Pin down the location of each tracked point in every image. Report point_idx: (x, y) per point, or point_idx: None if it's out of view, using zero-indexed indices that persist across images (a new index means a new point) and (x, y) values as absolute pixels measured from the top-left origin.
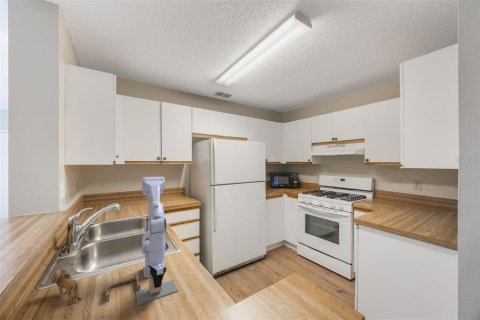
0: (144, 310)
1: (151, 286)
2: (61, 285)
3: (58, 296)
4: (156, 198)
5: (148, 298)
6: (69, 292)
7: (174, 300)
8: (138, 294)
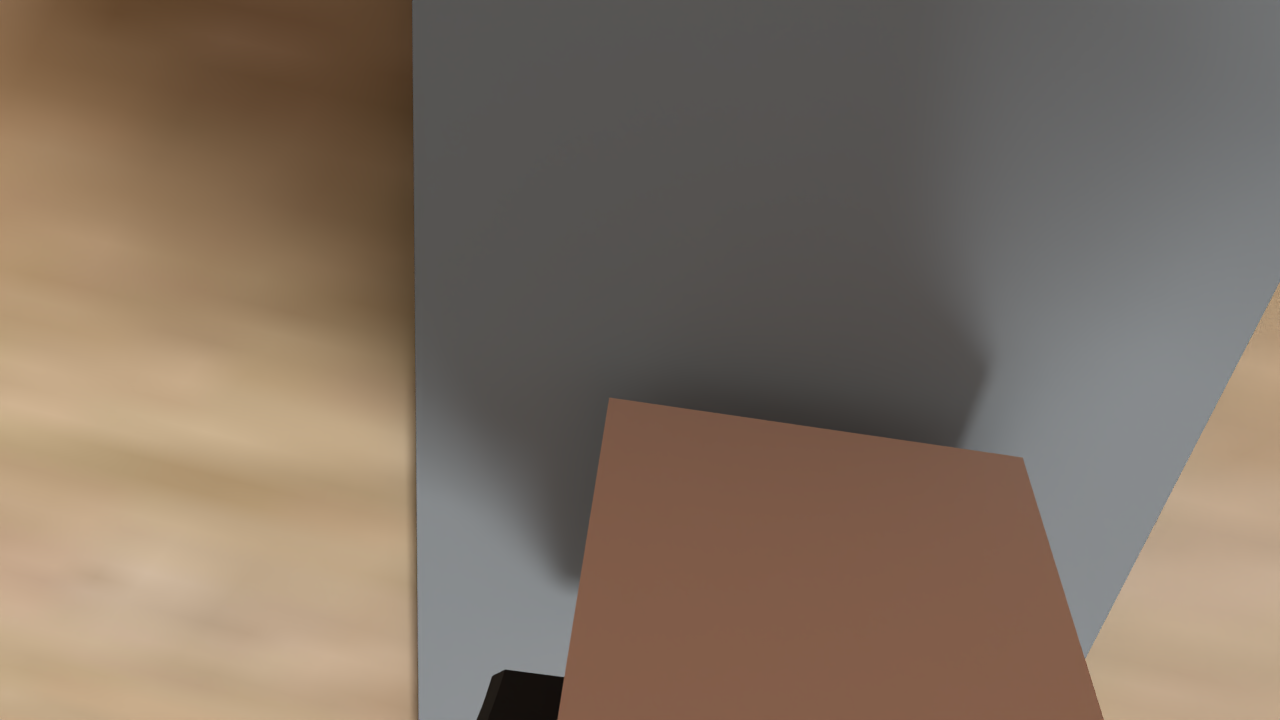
0: (21, 19)
1: (567, 662)
2: None
3: None
4: None
5: (539, 283)
6: None
7: (123, 694)
8: (1087, 50)
